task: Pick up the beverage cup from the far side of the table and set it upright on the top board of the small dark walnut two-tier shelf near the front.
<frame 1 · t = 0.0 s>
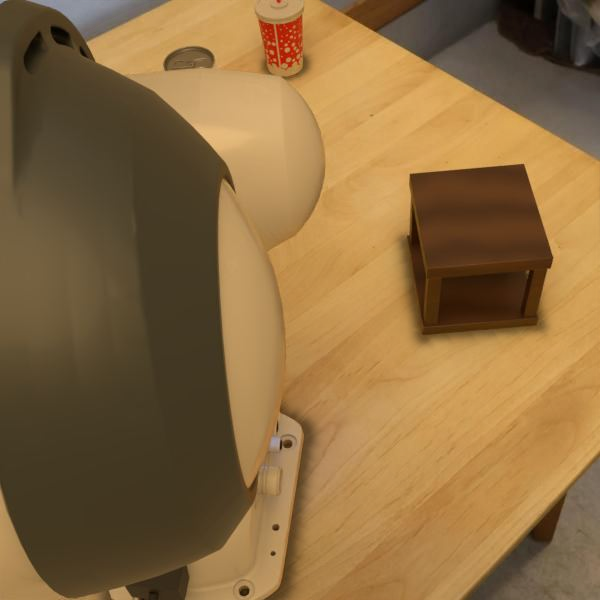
beverage cup: (285, 66, 110), on the table
can: (206, 146, 102), on the table
shelf: (468, 282, 86), on the table
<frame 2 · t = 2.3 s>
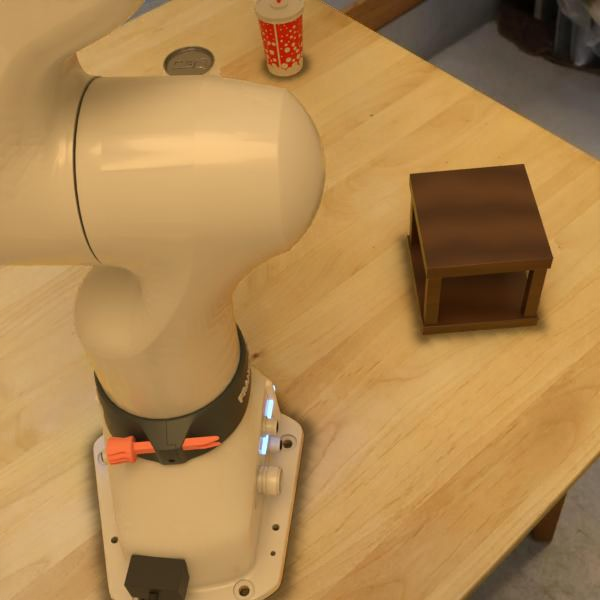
nothing on the table moved.
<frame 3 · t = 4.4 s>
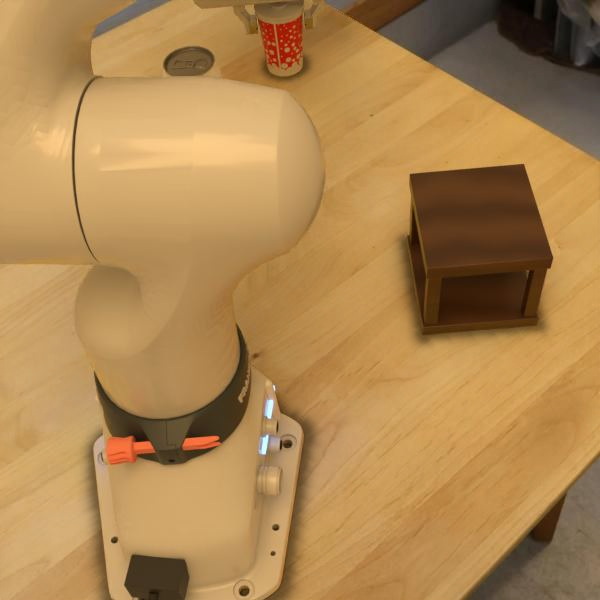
hand: (281, 28, 106), 5 cm above the table, tool pointing down, fingers closed on beverage cup, 6 cm apart
beverage cup: (285, 66, 110), on the table, touching gripper
everything else where it was.
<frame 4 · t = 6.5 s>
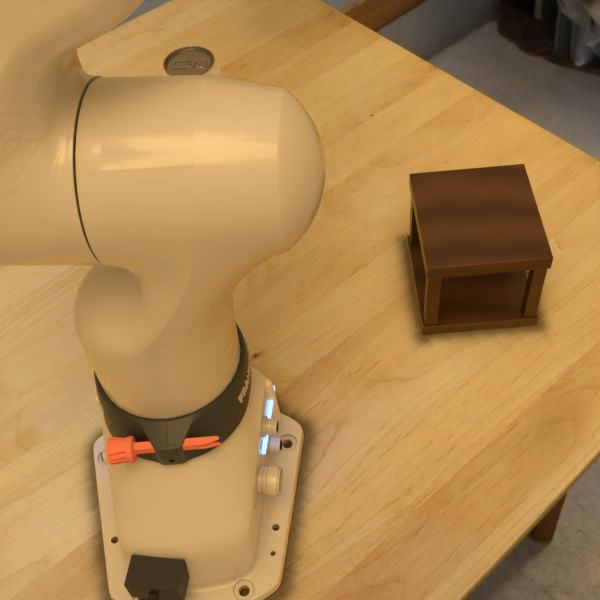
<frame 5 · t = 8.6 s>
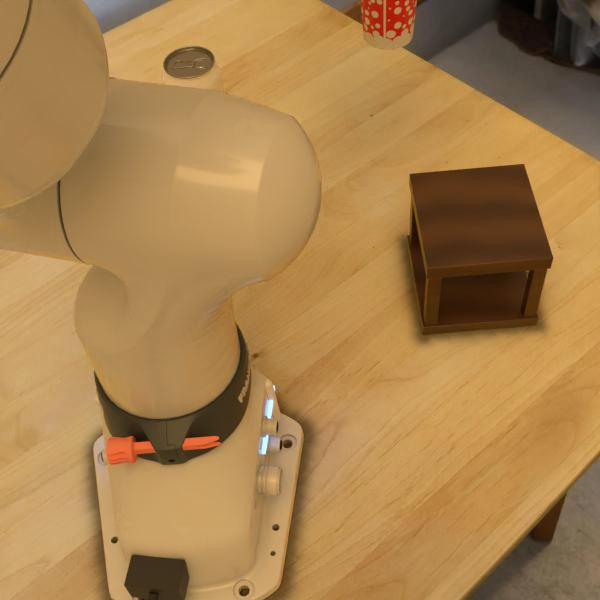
beverage cup: (387, 37, 79), point 20 cm above the table, touching gripper
everything else where it was.
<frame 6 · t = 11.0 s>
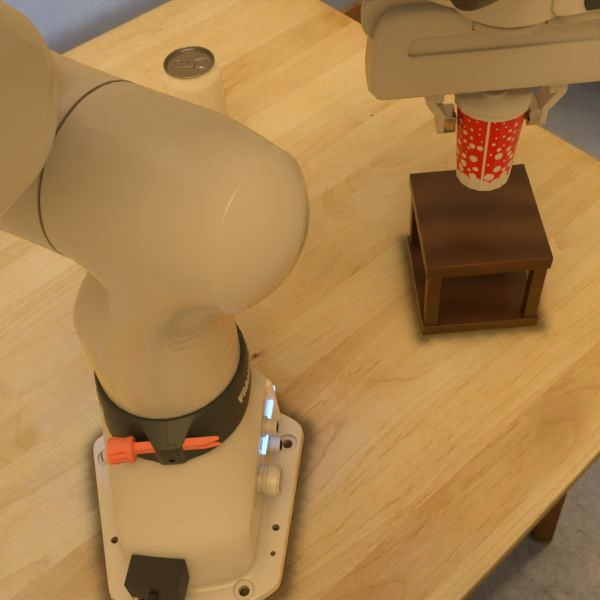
hand: (489, 124, 70), 21 cm above the table, tool pointing down, fingers closed on beverage cup, 6 cm apart
beverage cup: (482, 173, 74), point 15 cm above the table, touching gripper
everything else where it was.
when the fingers open (15 cm above the table, at t = 12.8 s): beverage cup stays where it is, resting on shelf.
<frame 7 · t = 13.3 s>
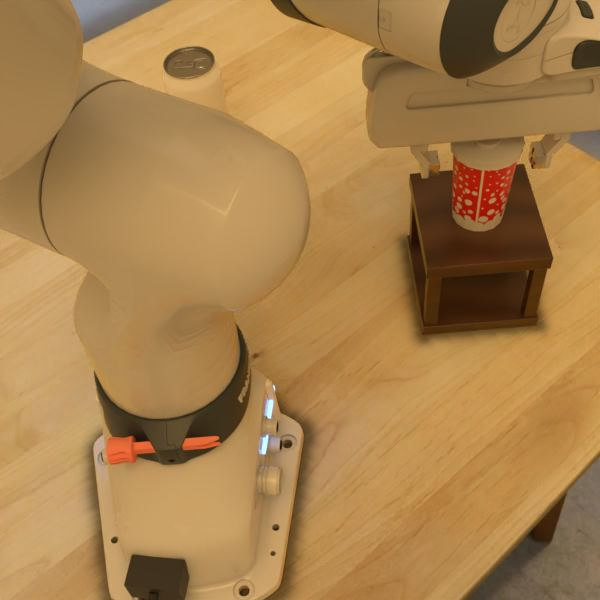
hand: (483, 168, 74), 16 cm above the table, tool pointing down, fingers open, 8 cm apart
beverage cup: (477, 214, 78), point 10 cm above the table, touching shelf
everything else where it was.
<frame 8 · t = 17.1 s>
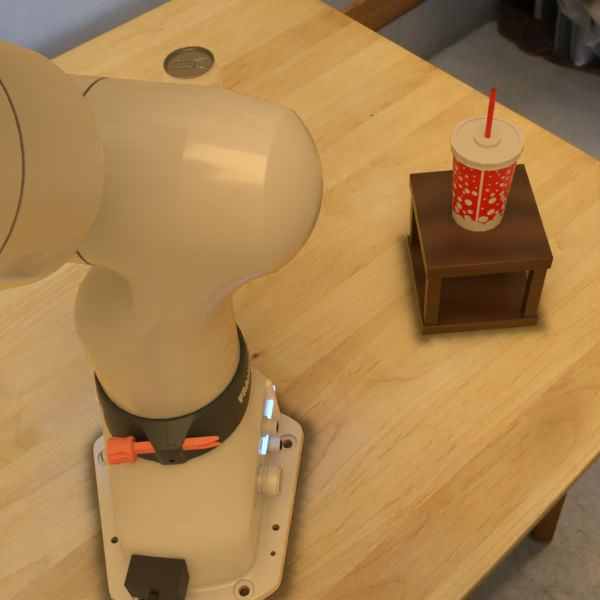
nothing on the table moved.
at the end: beverage cup inside the target area on the shelf (0.1 cm from its centre), point 9.8 cm above the shelf's base; beverage cup tilted 0° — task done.
